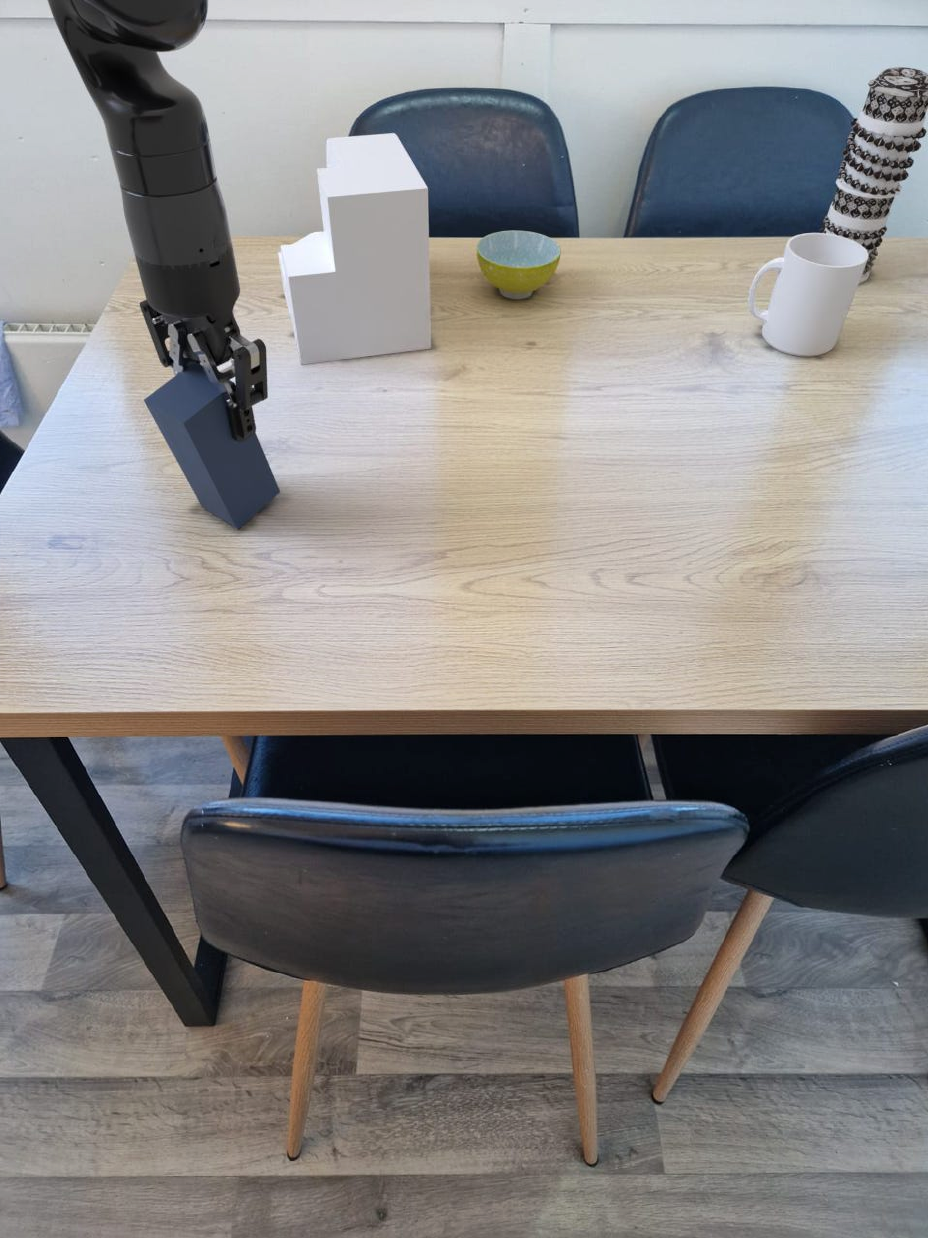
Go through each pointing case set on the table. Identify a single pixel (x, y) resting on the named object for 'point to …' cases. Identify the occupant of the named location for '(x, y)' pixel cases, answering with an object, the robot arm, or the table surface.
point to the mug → (810, 293)
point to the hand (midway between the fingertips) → (222, 424)
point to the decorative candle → (878, 158)
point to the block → (362, 256)
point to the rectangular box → (212, 447)
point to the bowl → (518, 261)
